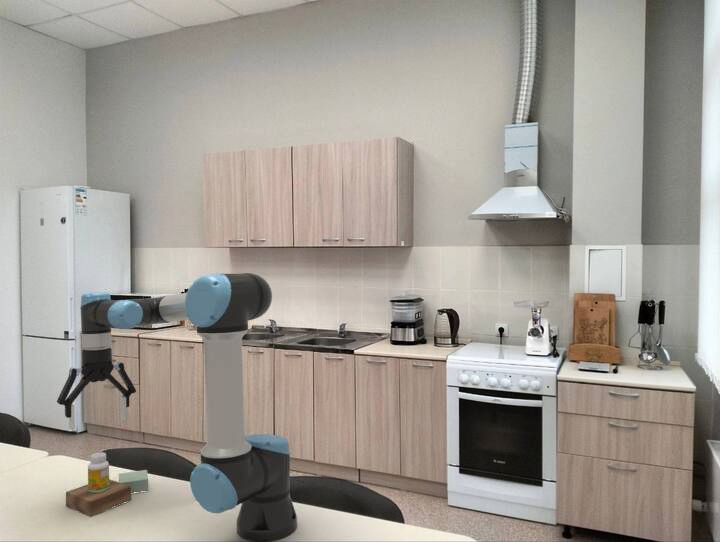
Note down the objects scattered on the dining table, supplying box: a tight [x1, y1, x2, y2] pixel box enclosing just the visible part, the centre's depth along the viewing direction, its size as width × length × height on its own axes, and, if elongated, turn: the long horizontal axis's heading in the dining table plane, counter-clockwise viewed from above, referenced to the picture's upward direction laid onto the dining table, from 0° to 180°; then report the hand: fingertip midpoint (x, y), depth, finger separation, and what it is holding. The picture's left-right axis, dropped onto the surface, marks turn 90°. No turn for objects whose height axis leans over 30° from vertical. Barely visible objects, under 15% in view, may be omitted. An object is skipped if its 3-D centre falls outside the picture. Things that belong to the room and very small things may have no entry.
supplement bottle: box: [87, 452, 110, 493], centre depth 158 cm, size 5×5×10 cm
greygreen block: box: [118, 469, 149, 493], centre depth 169 cm, size 8×8×4 cm
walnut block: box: [65, 478, 132, 518], centre depth 158 cm, size 12×12×4 cm
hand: (98, 424), depth 158 cm, fingers open, 13 cm apart
